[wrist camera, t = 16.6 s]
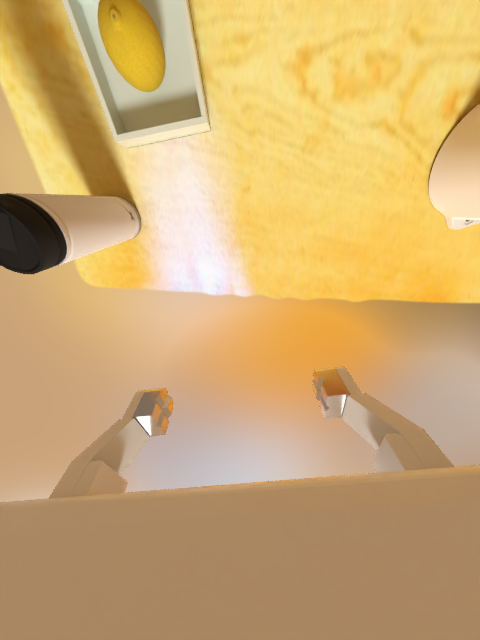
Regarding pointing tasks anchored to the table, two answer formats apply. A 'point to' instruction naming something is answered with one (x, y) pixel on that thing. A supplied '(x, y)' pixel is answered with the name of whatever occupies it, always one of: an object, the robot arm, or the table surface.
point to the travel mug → (60, 228)
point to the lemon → (132, 43)
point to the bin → (137, 106)
